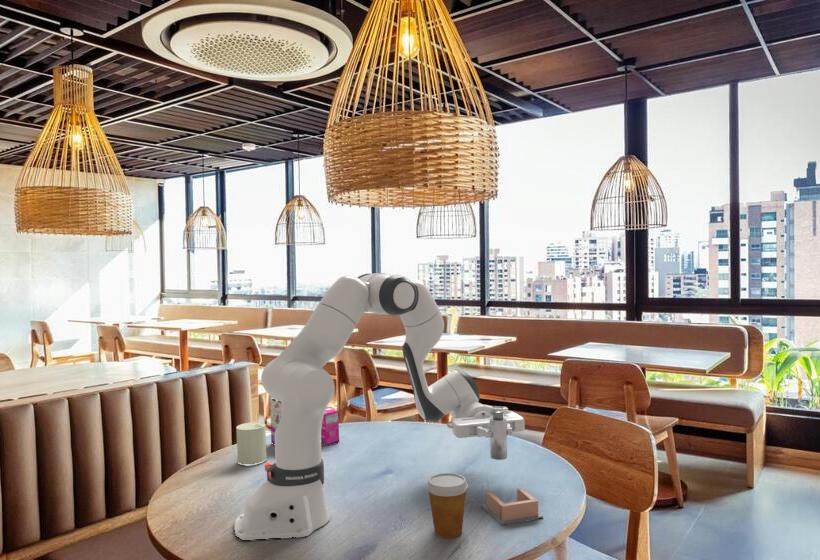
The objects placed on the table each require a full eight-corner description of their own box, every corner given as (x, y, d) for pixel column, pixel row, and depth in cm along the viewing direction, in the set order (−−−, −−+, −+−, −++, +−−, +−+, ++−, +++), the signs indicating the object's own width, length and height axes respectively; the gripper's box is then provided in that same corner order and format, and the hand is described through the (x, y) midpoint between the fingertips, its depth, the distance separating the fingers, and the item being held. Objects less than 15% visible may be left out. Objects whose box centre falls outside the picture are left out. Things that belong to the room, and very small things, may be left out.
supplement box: (316, 442, 200) (315, 410, 199) (331, 439, 204) (330, 407, 203) (325, 446, 195) (324, 413, 195) (340, 442, 199) (339, 410, 199)
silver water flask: (494, 460, 147) (493, 414, 147) (487, 455, 151) (486, 410, 151) (510, 458, 148) (509, 413, 148) (502, 453, 153) (501, 409, 152)
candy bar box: (298, 447, 195) (297, 400, 194) (285, 451, 191) (284, 402, 191) (283, 440, 203) (282, 395, 203) (270, 443, 200) (269, 397, 200)
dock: (500, 525, 132) (500, 508, 132) (482, 506, 143) (481, 490, 143) (543, 518, 135) (542, 501, 135) (521, 500, 146) (521, 485, 146)
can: (259, 466, 176) (258, 428, 176) (231, 466, 178) (230, 428, 178) (271, 457, 186) (270, 420, 185) (245, 456, 187) (243, 420, 187)
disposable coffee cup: (466, 521, 135) (464, 471, 134) (471, 540, 125) (470, 486, 125) (426, 523, 134) (424, 472, 134) (428, 542, 125) (427, 488, 125)
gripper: (444, 412, 159) (462, 425, 146) (510, 406, 165) (533, 417, 151) (445, 434, 159) (462, 449, 146) (511, 427, 165) (534, 441, 152)
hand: (499, 433), depth 149 cm, fingers closed on silver water flask, 4 cm apart
